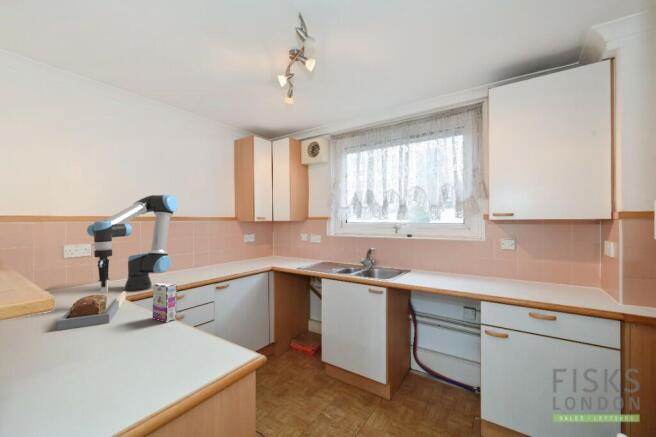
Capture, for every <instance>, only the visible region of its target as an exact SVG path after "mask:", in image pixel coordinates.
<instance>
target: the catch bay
mask: <svg viewBox="0 0 656 437" xmlns="http://www.w3.org/2000/svg"><path fill="white" fill-rule="evenodd" d="M90 295H91V294H88V295H87V296H90ZM126 298H127V290H125V291H124V290H123V291H121V294H120V295H119V296H118V297H117V298H116V299H115V301H114V302H113V304H112V305H111V306H110V307H109V308H108V310H106V312H105V313H103V314H99V315H91V316H84V317H76V318H70V310H69V311H67V312H66V313H65V314H64V315H63V316H61V318H59V319H58V320H57V331H63V330H69V329H71V330H72V329H76V328H77V329H78V328H84V327H91V326H98V325H104V324H110V322H111V321H112V319H113V318H114V317H115V315H116V313H117V312H118V310H119V309H120V307H121V306H122V305H123V304H124V302H125V300H126ZM123 301H124V302H123Z"/></svg>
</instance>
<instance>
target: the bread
mask: <svg viewBox="0 0 656 437" xmlns="http://www.w3.org/2000/svg"><path fill="white" fill-rule="evenodd" d="M89 295H90V296H88V295H87V296H83V297H80V298H79V299H78V300H76V301H75V302H74V303H73V304H72V306H71V307H70V310H69V311H70V318H76V317H84V316H91V315H99V314H105V313H106V311H107V310H106V309H107V302H108V299H107V295H104V294H89Z"/></svg>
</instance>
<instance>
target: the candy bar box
mask: <svg viewBox="0 0 656 437" xmlns="http://www.w3.org/2000/svg"><path fill="white" fill-rule="evenodd" d="M177 286H178V285H177V284H176V283H175V284H174V283H169V282H163V281H162V282H157V283H152V319H153V318H155V319H159V320H163V321H169V320H171V319H173V321H175V320H177V296H178V295H177V292H178V291H177V289H178V287H177ZM155 319H154V320H155ZM159 320H158V321H159ZM163 321H162V322H163Z"/></svg>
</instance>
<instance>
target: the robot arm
mask: <svg viewBox="0 0 656 437" xmlns="http://www.w3.org/2000/svg"><path fill="white" fill-rule="evenodd" d="M132 204H133V205H131V206H128V207H126V208H125V209H123V210H121V211H120V212H118V213H116V214H114V215H112V216H110V217H109V218H106V219H104V220H96V221H94V222H93V223H91V224H89V225H88V226H87V228H86V232H87V234H88V235H89V236H91V237H93V242H94V243H93V244H92V246H93V250H94V251H93V252H94V258H99V260H97V263H98V264H97V268H98V277H99V278H98V282H100V293H101V294H106V293H108V292H109V291H108V290H109V289H108V288H109V287H108V286H109V285H108V282H109V280H110V277H109V267H110V266H109V264H110V260H109V258H108V257H112V256H113V238H121V237H128V236H130V235H131V234H132V232H133V227H132V226H131V224H129V222H130V221H132V220H134V219H135V218H137V217H139V216H140V215H145V214H146V213H153V214H154V216H155V218H154V219H155V220H154V227H153V233H152V234H153V235H152V242H151V249H150V251H148V252H146V253H140V254H132V255H129V256H128V260H127V273H128V274H127V280H126V282H125V284H124V290H125V291H140V290H146V289H149V288H152V287H153V283H152V281H151V277H150V274H163V273H165V272H167V271H168V270H169V269H170V267H171V264H172V259H171V257H170V256H169V252H167V244H168V236H169V229H170V221H171V220H170V219H171V217H172V216H173V215H174V212H176V211H177V210H178V208H179V203H178V200H177V198H176V197H174V195H172V194H171V195H170V194H169V195H168V194H161V195H160V194H158V195H157V194H155V195H154V194H152V195H148V196H145V197H142V198H140V199H139V200H137V201H135V202H133V203H132Z"/></svg>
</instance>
